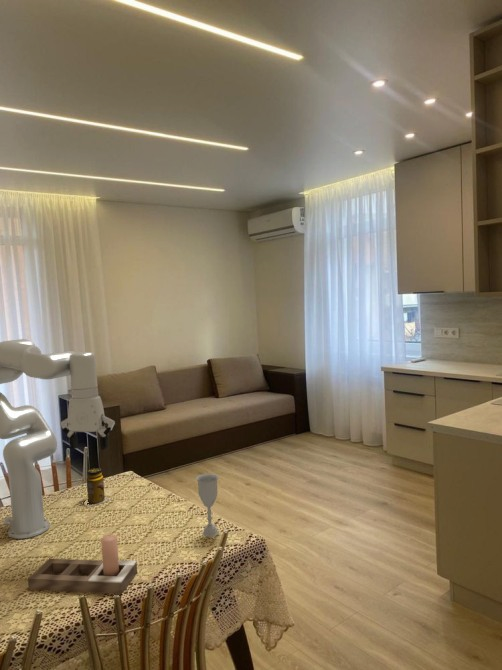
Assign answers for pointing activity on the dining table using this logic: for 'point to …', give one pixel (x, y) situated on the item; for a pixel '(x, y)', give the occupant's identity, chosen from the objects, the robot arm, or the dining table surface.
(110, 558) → the peg
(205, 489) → the chalice
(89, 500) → the condiment
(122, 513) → the dining table surface
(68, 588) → the block with square holes
